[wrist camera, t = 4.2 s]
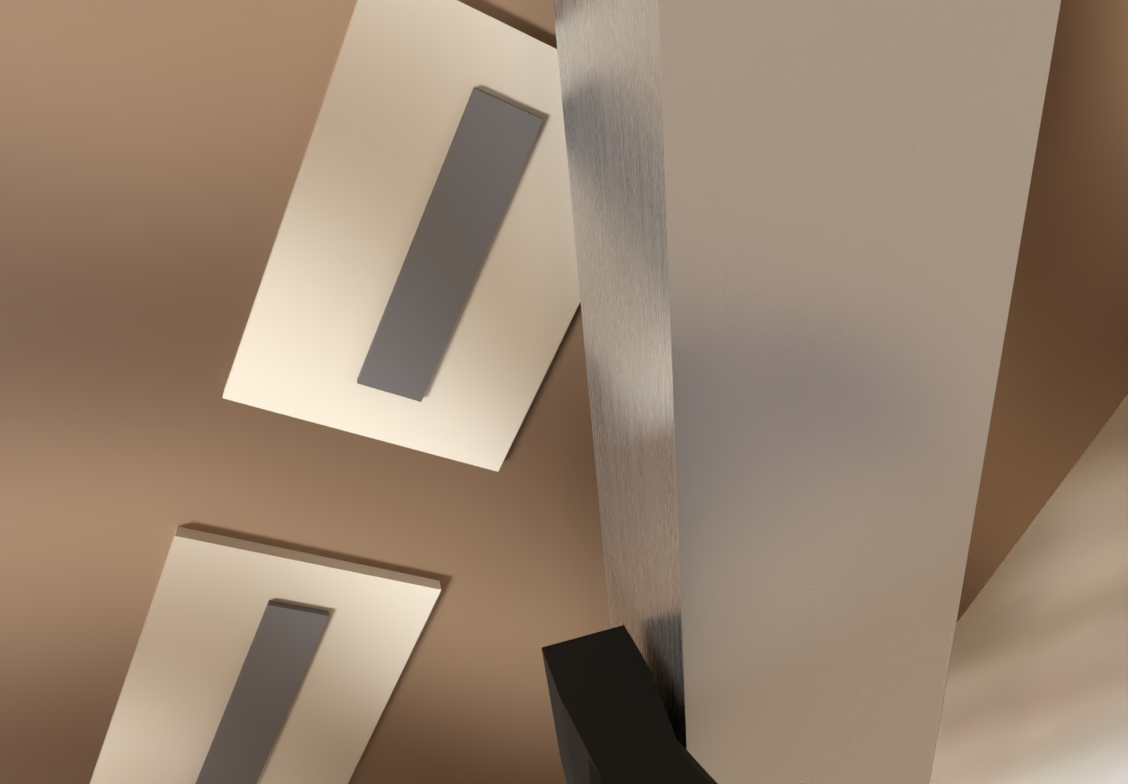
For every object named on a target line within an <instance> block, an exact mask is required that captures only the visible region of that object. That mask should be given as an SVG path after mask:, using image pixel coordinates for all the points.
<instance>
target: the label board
mask: <svg viewBox="0 0 1128 784" xmlns="http://www.w3.org/2000/svg"><path fill="white" fill-rule="evenodd" d="M1127 394H1128V0H1061V4H1060V10H1059V16H1058V22H1057V28H1056V34H1055V40H1054V46H1053V51H1052V57H1051V63H1050V69H1049V75H1048V81H1047V87H1046V93H1045V99H1044V105H1043V111H1042V117H1041V123H1040V129H1039V135H1038V141H1037V147H1036V152H1035V158H1034V164H1033V170H1032V176H1031V182H1030V188H1029V194H1028V200H1027V206H1026V212H1025V218H1024V224H1023V230H1022V236H1021V242H1020V248H1019V253H1018V259H1017V265H1016V271H1015V277H1014V283H1013V289H1012V295H1011V301H1010V307H1009V313H1008V319H1007V325H1006V331H1005V337H1004V343H1003V349H1002V354H1001V360H1000V366H999V372H998V378H997V384H996V390H995V396H994V402H993V408H992V414H991V420H990V426H989V432H988V438H987V444H986V450H985V455H984V461H983V467H982V473H981V479H980V485H979V491H978V497H977V503H976V509H975V515H974V521H973V527H972V533H971V539H970V545H969V550H968V556H967V562H966V568H965V574H964V580H963V586H962V592H961V598H960V604H959V610H958V616H957V621H958V620H959V619H960V617H961V616H962V615H963V613H964V612H965V611H966V609H967V608H968V607H969V605H970V604H971V603H972V601H973V600H974V599H975V597H976V596H977V595H978V593H979V592H980V591H981V589H982V588H983V587H984V585H985V584H986V583H987V581H988V580H989V579H990V577H991V576H992V575H993V573H994V572H995V571H996V569H997V568H998V567H999V565H1000V564H1001V563H1002V561H1003V560H1004V559H1005V557H1006V556H1007V555H1008V553H1009V552H1010V551H1011V549H1012V548H1013V546H1014V545H1015V544H1016V542H1017V541H1018V540H1019V538H1020V537H1021V536H1022V534H1023V533H1024V532H1025V530H1026V529H1027V528H1028V526H1029V525H1030V524H1031V522H1032V521H1033V520H1034V518H1035V517H1036V516H1037V514H1038V513H1039V512H1040V510H1041V509H1042V508H1043V506H1044V505H1045V504H1046V502H1047V501H1048V500H1049V498H1050V497H1051V496H1052V494H1053V493H1054V492H1055V490H1056V489H1057V488H1058V486H1059V485H1060V484H1061V482H1062V481H1063V480H1064V478H1065V477H1066V476H1067V474H1068V473H1069V472H1070V470H1071V469H1072V468H1073V466H1074V465H1075V463H1076V462H1077V461H1078V459H1079V458H1080V457H1081V455H1082V454H1083V453H1084V451H1085V450H1086V449H1087V447H1088V446H1089V445H1090V443H1091V442H1092V441H1093V439H1094V438H1095V437H1096V435H1097V434H1098V433H1099V431H1100V430H1101V429H1102V427H1103V426H1104V425H1105V423H1106V422H1107V421H1108V419H1109V418H1110V417H1111V415H1112V414H1113V413H1114V411H1115V410H1116V409H1117V407H1118V406H1119V405H1120V403H1121V402H1122V401H1123V399H1124V398H1125V397H1126V395H1127ZM956 623H957V622H956ZM607 629H610V618H609V607H608V596H607V585H606V574H605V563H604V552H603V542H602V531H601V520H600V509H599V498H598V487H597V476H596V465H595V454H594V444H593V433H592V422H591V411H590V400H589V389H588V378H587V367H586V356H585V345H584V335H583V324H582V313H581V302H580V291H579V280H578V269H577V258H576V247H575V237H574V226H573V215H572V204H571V193H570V182H569V171H568V160H567V149H566V138H565V128H564V117H563V106H562V95H561V84H560V73H559V62H558V51H557V40H556V30H555V19H554V8H553V0H0V784H567V781H566V777H565V774H564V770H563V766H562V763H561V758H560V752H559V746H558V741H557V735H556V729H555V723H554V718H553V712H552V706H551V700H550V695H549V689H548V683H547V677H546V672H545V666H544V660H543V654H542V649H541V648H542V647H545V646H549V645H553V644H556V643H560V642H564V641H567V640H571V639H575V638H578V637H582V636H585V635H589V634H593V633H596V632H600V631H604V630H607Z"/></svg>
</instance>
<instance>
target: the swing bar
mask: <svg viewBox="0 0 1128 784" xmlns="http://www.w3.org/2000/svg"><path fill="white" fill-rule="evenodd" d="M1060 4H1061V0H553V8H554V19H555V30H556V40H557V51H558V62H559V73H560V84H561V95H562V106H563V117H564V128H565V138H566V149H567V160H568V171H569V182H570V193H571V204H572V215H573V226H574V237H575V247H576V258H577V269H578V280H579V291H580V302H581V313H582V324H583V335H584V345H585V356H586V367H587V378H588V389H589V400H590V411H591V422H592V433H593V444H594V454H595V465H596V476H597V487H598V498H599V509H600V520H601V531H602V542H603V552H604V563H605V574H606V585H607V596H608V607H609V618H610V629H611V628H615V627H618V626H622V625H624V626H625V628H626V629H627V631H628V633H629V634H630V636H631V637H632V639H633V641H634V642H635V644H636V646H637V647H638V649H639V651H640V652H641V654H642V656H643V658H644V660H645V661H646V663H647V665H648V667H649V668H650V670H651V673H652V675H653V678H654V681H655V683H656V686H657V688H658V691H659V694H660V696H661V699H662V702H663V704H664V707H665V710H666V712H667V715H668V718H669V720H670V723H671V726H672V729H673V731H674V734H675V737H676V739H677V740H678V741H679V742H680V743H681V744H682V745H683V746H684V748H685V749H686V750H687V751H688V752H689V753H690V754H691V755H692V756H693V757H694V758H695V760H696V761H697V762H698V763H699V764H700V765H701V766H702V767H703V768H704V769H705V771H706V772H707V773H708V774H709V775H710V776H711V777H712V778H713V779H714V780H715V781H716V782H717V783H718V784H929V782H930V776H931V770H932V764H933V758H934V752H935V747H936V741H937V735H938V729H939V723H940V717H941V711H942V705H943V699H944V693H945V687H946V681H947V675H948V669H949V663H950V657H951V651H952V646H953V640H954V634H955V628H956V622H957V616H958V610H959V604H960V598H961V592H962V586H963V580H964V574H965V568H966V562H967V556H968V550H969V545H970V539H971V533H972V527H973V521H974V515H975V509H976V503H977V497H978V491H979V485H980V479H981V473H982V467H983V461H984V455H985V450H986V444H987V438H988V432H989V426H990V420H991V414H992V408H993V402H994V396H995V390H996V384H997V378H998V372H999V366H1000V360H1001V354H1002V349H1003V343H1004V337H1005V331H1006V325H1007V319H1008V313H1009V307H1010V301H1011V295H1012V289H1013V283H1014V277H1015V271H1016V265H1017V259H1018V253H1019V248H1020V242H1021V236H1022V230H1023V224H1024V218H1025V212H1026V206H1027V200H1028V194H1029V188H1030V182H1031V176H1032V170H1033V164H1034V158H1035V152H1036V147H1037V141H1038V135H1039V129H1040V123H1041V117H1042V111H1043V105H1044V99H1045V93H1046V87H1047V81H1048V75H1049V69H1050V63H1051V57H1052V51H1053V46H1054V40H1055V34H1056V28H1057V22H1058V16H1059V10H1060Z"/></svg>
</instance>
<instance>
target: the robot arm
mask: <svg viewBox="0 0 1128 784" xmlns="http://www.w3.org/2000/svg"><path fill="white" fill-rule="evenodd" d="M541 649H542V654H543V660H544V666H545V672H546V677H547V683H548V689H549V695H550V700H551V706H552V712H553V718H554V723H555V729H556V735H557V741H558V746H559V752H560V758H561V763H562V766H563V770H564V774H565V777H566V781H567V784H718V783H717V782H716V781H715V780H714V779H713V778H712V777H711V776H710V775H709V774H708V773H707V772H706V771H705V769H704V768H703V767H702V766H701V765H700V764H699V763H698V762H697V761H696V760H695V758H694V757H693V756H692V755H691V754H690V753H689V752H688V751H687V750H686V749H685V748H684V746H683V745H682V744H681V743H680V742H679V741H678V740H677V739H676V737H675V734H674V731H673V729H672V726H671V723H670V720H669V718H668V715H667V712H666V710H665V707H664V704H663V702H662V699H661V696H660V694H659V691H658V688H657V686H656V683H655V681H654V678H653V675H652V673H651V670H650V668H649V667H648V665H647V663H646V661H645V660H644V658H643V656H642V654H641V652H640V651H639V649H638V647H637V646H636V644H635V642H634V641H633V639H632V637H631V636H630V634H629V633H628V631H627V629H626V628H625V626H624V625H622V626H618V627H615V628H611V629H607V630H604V631H600V632H596V633H593V634H589V635H585V636H582V637H578V638H575V639H571V640H567V641H564V642H560V643H556V644H553V645H549V646H545V647H542V648H541Z"/></svg>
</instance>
